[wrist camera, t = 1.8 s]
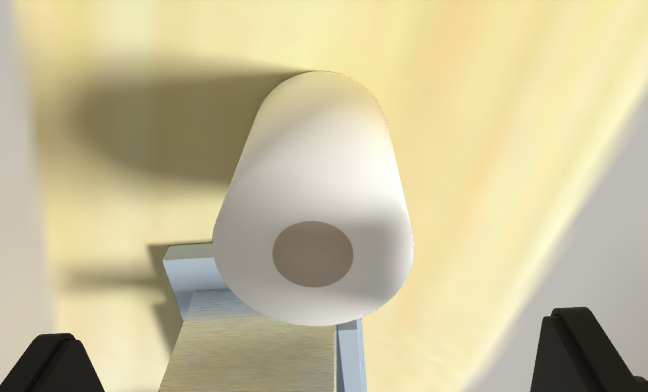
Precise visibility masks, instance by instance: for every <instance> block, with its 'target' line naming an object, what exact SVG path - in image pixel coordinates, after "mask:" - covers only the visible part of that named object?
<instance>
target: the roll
mask: <svg viewBox="0 0 648 392" xmlns="http://www.w3.org/2000/svg"><path fill="white" fill-rule="evenodd" d="M212 250H213V255H214V260H215V263H216V266H217V269H218V271H219V273H220V275H221V277H222V279H223V280H224V282H225V283H226V285H227V286H228V287H229V289H230V290H231V291H232V292H233V293H234V294H235V295H236V296H237V297H238V298H239V299H240V300H242V301H243V302H244V303H245V304H247V305H248V306H250V307H251V308H253V309H254V310H256V311H258V312H260V313H262V314H264V315H266V316H268V317H271V318H273V319H276V320H279V321H283V322H286V323H291V324H296V325H305V326H328V325H336V324H341V323H346V322H349V321H353V320H356V319H359V318H361V317H363V316H366V315H368V314H370V313H372V312H373V311H375V310H377V309H378V308H380V307H381V306H383V305H384V304H385V303H387V302H388V301H389V300H390V299H391V298H392V297H393V296H394V295H395V294H396V293H397V292H398V290H399V289H400V288H401V287H402V285H403V283H404V282H405V280H406V279H407V276H408V274H409V272H410V269H411V266H412V262H413V257H414V239H413V234H412V229H411V225H410V220H409V216H408V212H407V207H406V203H405V199H404V194H403V190H402V185H401V181H400V177H399V172H398V168H397V163H396V159H395V155H394V150H393V146H392V141H391V137H390V133H389V128H388V124H387V120H386V116H385V113H384V111H383V109H382V107H381V105H380V103H379V102H378V100H377V99H376V98H375V96H374V95H373V94H372V93H371V92H370V91H369V90H368V89H367V88H366V87H365V86H363V85H362V84H361V83H359V82H357V81H356V80H354V79H352V78H350V77H347V76H345V75H342V74H338V73H334V72H326V71H313V72H307V73H302V74H299V75H296V76H293V77H291V78H289V79H287V80H285V81H283V82H282V83H280V84H279V85H278V86H276V87H275V88H274V89H273V90H272V91H271V92H270V93H269V94H268V95H267V96H266V98H265V99H264V101H263V102H262V104H261V106H260V108H259V110H258V112H257V115H256V118H255V120H254V123H253V125H252V128H251V131H250V133H249V136H248V139H247V141H246V144H245V146H244V149H243V152H242V154H241V157H240V160H239V162H238V165H237V167H236V170H235V173H234V175H233V178H232V181H231V183H230V186H229V188H228V191H227V194H226V196H225V199H224V202H223V204H222V207H221V209H220V212H219V215H218V217H217V220H216V223H215V226H214V231H213V238H212Z"/></svg>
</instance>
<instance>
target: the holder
mask: <svg viewBox="0 0 648 392" xmlns="http://www.w3.org/2000/svg"><path fill="white" fill-rule="evenodd" d="M162 261H163V264H164V267H165V270H166V273H167V276H168V279H169V282H170V285H171V288H172V291H173V294H174V297H175V300H176V303H177V305H178V308H179V311H180V314H181V317H182V320H183V322H184V320H185V317H186V314H187V312H188V309H189V306H190V303H191V301H192V298H193V295H194V292H195V290H206V289H224V288H229V287H228V286H227V285H226V283H225V282H224V280H223V279H222V277H221V275H220V273H219V271H218V269H217V266H216V263H215V260H214V255H213V250H212V243H205V244H189V245H174V246H169V248H168V250H167V252H166V254H165V256H164V258H163V260H162ZM336 392H367V385H366V371H365V358H364V345H363V331H362V318H359V319H356V320H353V321H349V322H346V323H341V324H337V342H336Z"/></svg>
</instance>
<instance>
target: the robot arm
mask: <svg viewBox="0 0 648 392" xmlns="http://www.w3.org/2000/svg"><path fill="white" fill-rule="evenodd" d="M0 392H105V391H104V389H103V387H102V385H101V382H100V380H99V378H98V376H97V374H96V372H95V370H94V367H93V365H92V363H91V361H90V359H89V357H88V355H87V353H86V350H85V348H84V346H83V344H82V343H81V341H79V340H76V339H75V338H74V336H73V335H72V334H70V333H59V334H42V335H39V336H37V337H36V338H35V339H34V340H33V341H32V343H31V344H30V345H29V347H28V348H27V349H26V351H25V352H24V354H23V355H22V356H21V358H20V359H19V360H18V362H17V363H16V365H15V366H14V367H13V368H12V370H11V371H10V373H9V374H8V375H7V377H6V378H5V379H4V381H3V382H2V384H1V385H0ZM530 392H648V381H647V380H645V379H644V378H643V377H639V376H633V375H632V373H631V372H630V371H629V369H628V367H627V366H626V364H625V363H624V361H623V360H622V358H621V356H620V355H619V353H618V352H617V350H616V349H615V347H614V346H613V344H612V343H611V341H610V340H609V338H608V337H607V335H606V334H605V332H604V330H603V329H602V327H601V326H600V324H599V323H598V321H597V320H596V318H595V317H594V315H593V313H592V312H591V311H590V310H589V309H588V308H587V307H573V308H555V309H553V311H552V314H551V316H548V317H547V316H546V317H544V318H543V321H542V326H541V333H540V338H539V344H538V349H537V355H536V361H535V367H534V373H533V379H532V385H531V391H530Z"/></svg>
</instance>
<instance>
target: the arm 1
mask: <svg viewBox="0 0 648 392" xmlns="http://www.w3.org/2000/svg"><path fill="white" fill-rule="evenodd" d="M336 342H337V324H336V325H328V326H305V325H296V324H291V323H286V322H283V321H279V320H276V319H273V318H271V317H268V316H266V315H264V314H262V313H260V312H258V311H256V310H254V309H253V308H251V307H250V306H248V305H247V304H245V303H244V302H243V301H242V300H240V299H239V298H238V297H237V296H236V295H235V294H234V293H233V292H232V291H231V290H230V289H229V288H224V289H206V290H195V292H194V295H193V298H192V301H191V303H190V306H189V309H188V312H187V314H186V317H185V320H184V322H183V325H182V328H181V331H180V333H179V336H178V339H177V342H176V344H175V347H174V350H173V352H172V355H171V358H170V361H169V363H168V366H167V369H166V372H165V374H164V377H163V380H162V382H161V385H160V388H159V391H158V392H336Z"/></svg>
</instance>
